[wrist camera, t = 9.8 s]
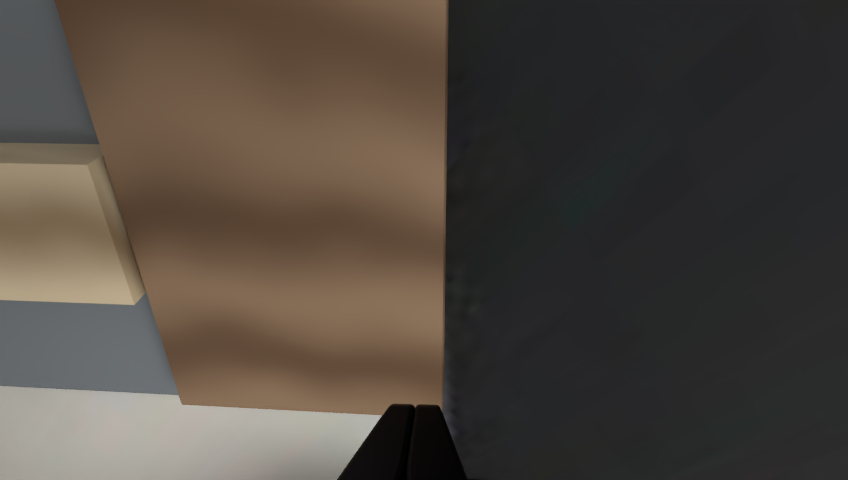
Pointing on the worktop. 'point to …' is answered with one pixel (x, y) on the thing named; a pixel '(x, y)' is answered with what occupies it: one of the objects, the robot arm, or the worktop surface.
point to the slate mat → (61, 321)
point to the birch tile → (63, 228)
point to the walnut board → (280, 190)
